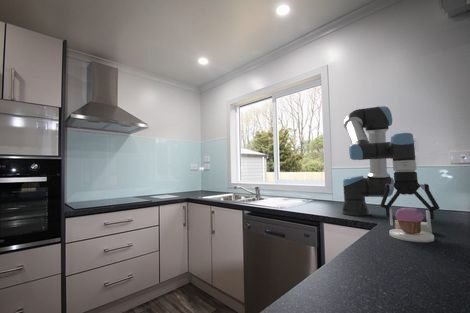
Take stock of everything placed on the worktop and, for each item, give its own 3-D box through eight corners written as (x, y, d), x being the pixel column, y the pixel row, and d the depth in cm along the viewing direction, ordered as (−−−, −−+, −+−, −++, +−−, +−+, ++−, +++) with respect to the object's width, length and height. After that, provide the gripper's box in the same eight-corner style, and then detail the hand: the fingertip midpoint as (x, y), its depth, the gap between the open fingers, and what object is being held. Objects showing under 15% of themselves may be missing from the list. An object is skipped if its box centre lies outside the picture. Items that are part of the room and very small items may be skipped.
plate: (388, 231, 98) (388, 227, 98) (430, 234, 91) (429, 230, 91) (390, 239, 86) (390, 235, 86) (438, 244, 79) (438, 239, 79)
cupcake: (430, 234, 86) (427, 207, 87) (414, 237, 83) (411, 210, 84) (407, 228, 94) (404, 204, 95) (391, 231, 92) (389, 207, 92)
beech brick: (395, 229, 102) (394, 220, 102) (406, 229, 100) (405, 220, 100) (396, 232, 97) (396, 222, 97) (408, 233, 95) (407, 223, 95)
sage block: (418, 230, 98) (418, 221, 98) (431, 232, 95) (430, 222, 95) (419, 234, 93) (418, 224, 93) (432, 235, 90) (431, 225, 91)
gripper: (370, 172, 94) (375, 225, 92) (446, 170, 81) (453, 231, 80) (370, 172, 100) (374, 222, 98) (441, 170, 88) (447, 227, 86)
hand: (409, 226), depth 89 cm, fingers open, 11 cm apart
